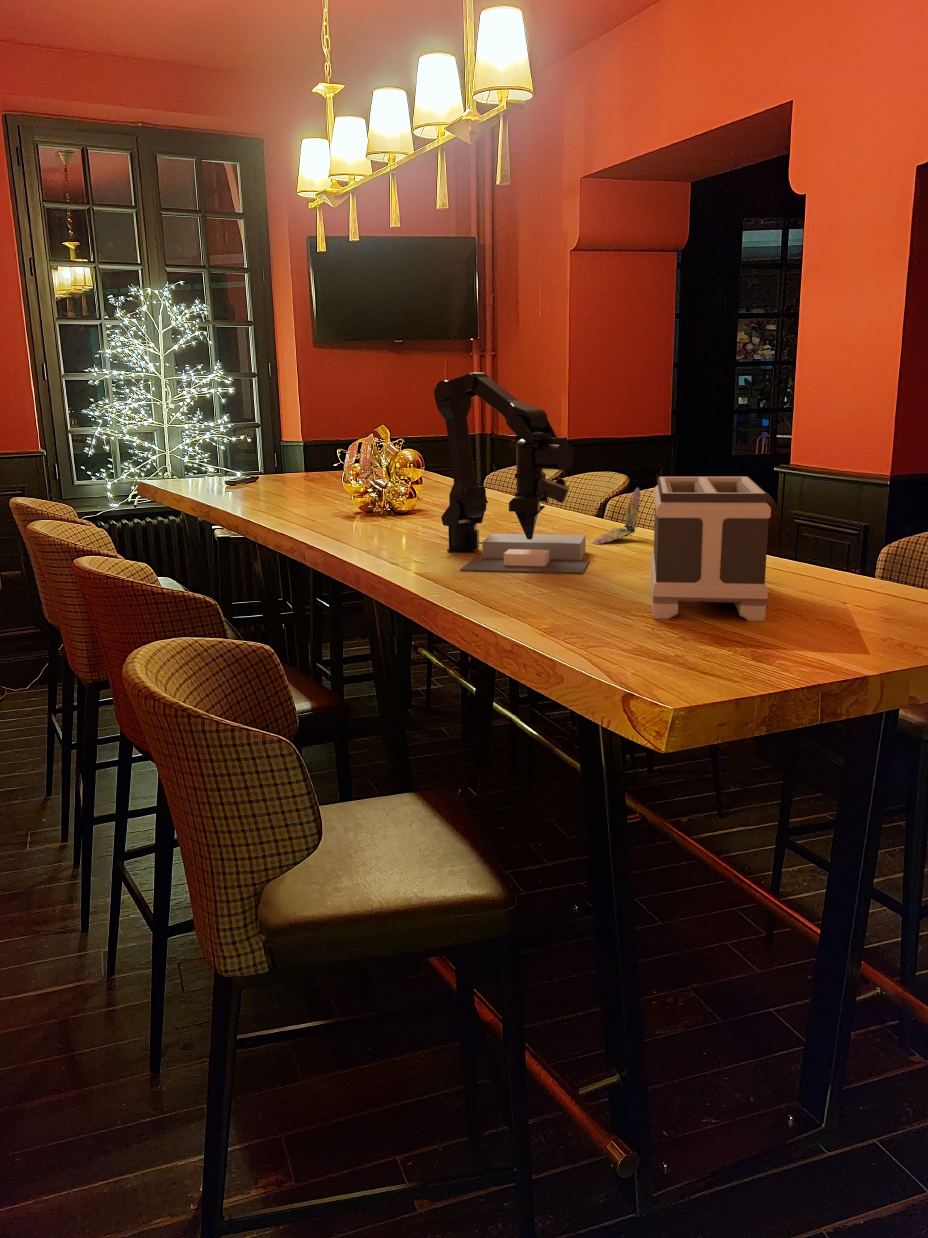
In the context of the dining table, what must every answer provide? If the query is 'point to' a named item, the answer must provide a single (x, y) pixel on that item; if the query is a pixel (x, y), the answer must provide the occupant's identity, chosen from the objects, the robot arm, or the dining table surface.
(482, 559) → the mat
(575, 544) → the block
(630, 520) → the butterfly
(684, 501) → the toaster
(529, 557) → the domino
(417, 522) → the dining table surface
